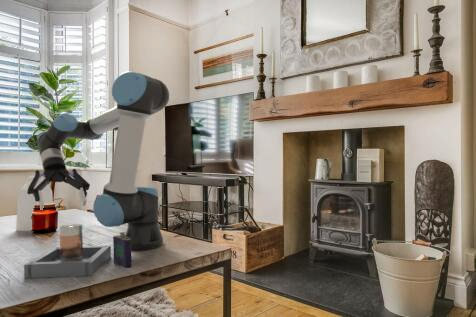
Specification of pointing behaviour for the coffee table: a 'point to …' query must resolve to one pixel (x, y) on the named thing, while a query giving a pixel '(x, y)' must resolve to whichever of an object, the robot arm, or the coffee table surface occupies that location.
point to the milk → (29, 204)
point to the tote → (67, 263)
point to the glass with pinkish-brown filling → (71, 242)
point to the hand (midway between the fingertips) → (64, 205)
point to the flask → (122, 250)
